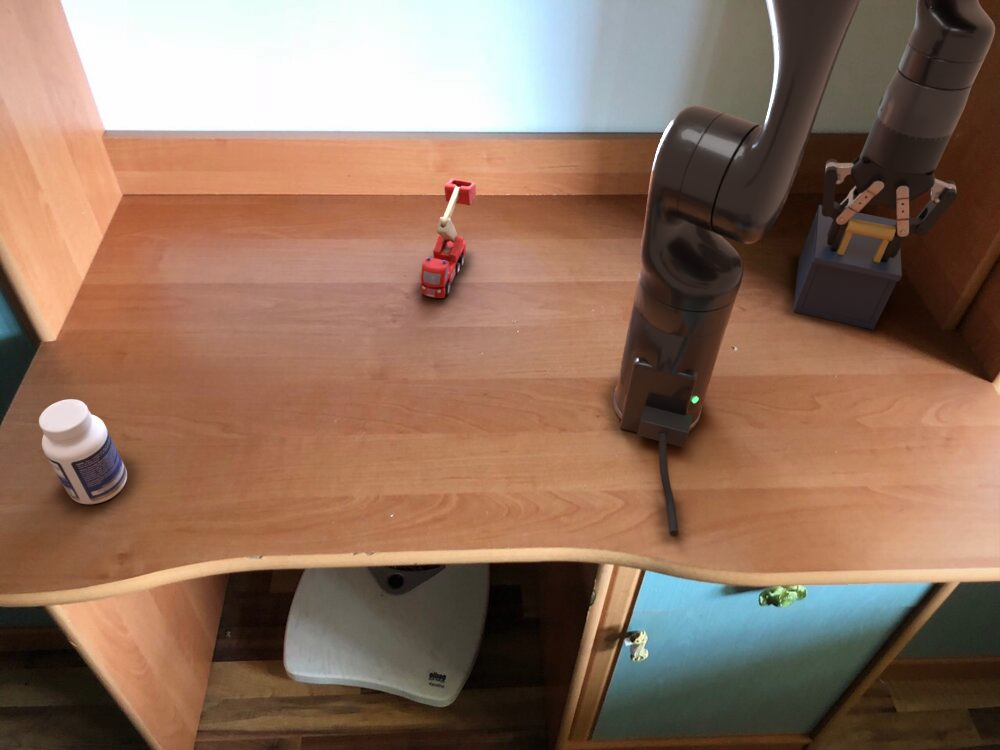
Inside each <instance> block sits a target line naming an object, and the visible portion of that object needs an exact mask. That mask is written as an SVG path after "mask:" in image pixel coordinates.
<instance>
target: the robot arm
mask: <svg viewBox="0 0 1000 750" xmlns="http://www.w3.org/2000/svg"><path fill="white" fill-rule="evenodd" d="M861 2H862V0H765V3H766V8H767V13H768V18H769V25H770V31H771V39H772V53H773V75H772V85H771V93H770V98H769V103H768V108H767V111H766V112H767V113H766V115H765V120H764V122H763V124H761V123H758V122H754V121H751V120H748V119H746V118H743V117H739V116H736V115H733V114H731V113H728V112H724V111H722V110H718V109H715V108H712V107H709V106H705V105H699V104H693V105H689V106H686V107H684V108H683V109H682V110H680V111H679V112H677V114H676V115H674V117H673V118H672V119H671V121H670V122H669V124H668V125H667V127H666V128H665V130H664V132H663V134H662V137H661V138H660V142H659V144H658V146H657V149H656V152H655V156H654V159H653V163H652V167H651V171H650V176H649V177H650V178H649V183H648V184H649V185H648V189H647V190H648V191H647V198H646V199H647V200H646V206H645V207H646V208H645V215H644V222H643V230H642V236H641V242H640V249H639V258H640V267H639V273H638V278H637V283H636V288H635V293H634V298H633V303H632V307H631V312H630V317H629V322H628V327H627V332H626V338H625V343H624V347H623V352H622V357H621V363H620V366H619V371H618V378H617V383H616V387H615V389H614V394H613V399H612V405H613V408H614V411H615V414H616V415H617V417H618V418H619V419H620V425H619V427H620V429H622V430H624V431H627V432H628V431H629V432H632V433H636V435H637V436H639V437H643V438H645V439H650V440H653V441H657V442H658V461H659V462H658V463H659V473H660V480H661V481H660V482H661V485H662V490H663V494H664V498H665V503H666V510H667V518H668V527H669V534H670V535H672V536H676V535H678V534H679V528H678V519H677V510H676V504H675V500H674V494H673V489H672V485H671V481H670V475H669V468H668V466H669V465H668V444H669V445H673V446H676V447H680V448H685V446H686V443H687V440H688V438H689V437H688V436H689V433H690V431H692V430H693V429H694V428H695V427H696V425H697V424H698V423H699V420H700V417H701V414H702V410H703V404H704V401H705V398H706V394H707V392H708V388H709V385H710V382H711V379H712V376H713V372H714V369H715V367H716V363H717V359H718V356H719V353H720V350H721V346H722V343H723V340H724V337H725V334H726V331H727V327H728V324H729V321H730V318H731V315H732V312H733V309H734V305H735V303H736V299H737V296H738V293H739V290H740V287H741V283H742V280H743V278H744V277H743V276H744V264H743V261H742V258H741V256H740V254H739V252H738V251H737V249H736V248H735V247H734V246H733V245H732V244H731V243H730V242H729V241H728V240H727V239H729V240H732V241H733V242H737V243H740V244H745V245H750V244H751V245H752V244H754V243H757V242H759V241H761V240H762V239H763V238H764V237H766V235H767V234H768V233H769V232H770V231H771V229H772V227H773V226H774V224H775V223H776V221H777V219H779V216H780V214H781V212H782V210H783V208H784V206H785V204H786V202H787V199H788V197H789V195H790V192H791V190H792V188H793V185H794V183H795V179H796V177H797V174H798V171H799V169H800V166H801V163H802V160H803V156H804V154H805V151H806V148H807V145H808V142H809V139H810V138H811V134H812V131H813V128H814V126H815V125H814V124H815V122H816V119H817V116H818V113H819V110H820V107H821V105H822V101H823V100H824V99H823V98H824V95H825V92H826V91H827V87H828V84H829V81H830V80H831V76H832V73H833V70H834V68H835V65H836V62H837V59H838V57H839V54H840V52H841V50H842V47H843V44H844V42H845V39H846V38H847V37H846V36H847V34H848V32H849V29H850V27H851V25H852V23H853V20H854V18H855V16H856V13H857V11H858V9H859V6H860V5H861ZM915 4H916V5H915V17H914V25H913V28H912V30H911V33H910V35H909V37H908V40H907V42H906V45H905V48H904V51H903V53H902V55H901V58H900V60H899V63H898V66H897V67H896V70H895V72H894V74H893V76H892V78H891V79H890V80H889V83H888V85H887V87H886V89H885V91H884V94H883V96H882V97H881V99H880V101H879V104H878V109H877V112H876V115H875V117H874V120H873V122H872V125H871V127H870V131H869V133H868V135H867V136H866V137H867V138H866V140H865V143H864V145H863V147H862V150H861V152H860V154H859V155H858V156H857V157H856V158H854V160H853V161H852V162H838V160H837V159H835V158H829V159H828V160H827V161H826V162H825V169H824V170H825V172H824V181H823V191H822V192H823V193H822V204H821V205H822V215H823V216H825V217H831V218H832V219H833V222H832V224H831V227H830V229H829V232H828V236H827V244H828V245H831V247H830V250H834V251H837V249H838V247H839V245H840V242H841V240H842V237H843V235H844V232H845V230H846V227H847V222H848V221H849V220H850V219H851V217H852V216H853V215H854V214H855V213H860V212H861V211H862V210H863V209H864V208H865V206H866V205H870V206H882V207H885V208H886V209H891V210H896V220H897V222H896V224H895V226H894V225H892V226H893V227H896V231H895V235H894V237H893V239H892V241H889V243H888V245H887V247H886V249H885V251H884V254H883V256H882V258H881V261H886V262H887V261H888V260H889V258H894V257H895V256H896V255H897V253H898V251H899V249H900V250H901V247H902V245H903V243H904V241H905V239H906V237H907V236H909V235H913V234H916V235H918V236H920V237H924V236H925V235H927V234H928V233H930V231H931V229H932V228H934V226H935V225H936V224H937V222H938V221H939V220H940V219H941V218H942V217H943V215H944V214H945V213H946V211H948V209H949V208H950V207H951V206H952V205H953V203H954V202H955V201H956V200H957V198H958V194H957V186H956V182H955V181H954V180H946V181H944V180H941V179H937V178H936V177H935V171H936V169H937V167H938V165H939V163H940V161H941V159H942V156H943V154H944V152H945V150H946V149H947V146H948V144H949V142H950V139H951V138H952V136H953V133H954V131H955V130H956V128H957V125H958V123H959V121H960V119H961V116H962V115H963V112H964V110H965V107H966V105H967V102H968V99H969V95H970V93H971V89H972V87H973V84H974V83H975V80H976V78H977V76H978V73H979V71H980V70H981V68H982V65H983V63H984V61H985V59H986V56H987V54H988V52H989V50H990V48H991V46H992V43H993V41H994V37H995V35H996V34H995V33H996V26H995V23H994V21H993V20H992V19H991V17H990V16H989V15H988V13H986V11H985V10H984V9H983V7H982V6H981V4H980V2H979V0H916V3H915ZM849 175H851V178H852V180H853V183H854V185H855V186H853V188H852V189H851V190H850V191H849V193H848V194H847V196H846V197H845V198H844V199H843V200H842V202H840V203H839V202H837V201H835V198H836V187H837V185H840V184H842V183H843V182H844V181H845V179H846V177H847V176H849ZM929 191H930V192H929ZM927 192H929V193H930V194H929V195H930V200H929V201H928V202H927V203H926V205H925V206H924V207H923V208H922V209H921V211H920V212H918V213H919V214H917V216H916V217H910V202H912V201H914V200H915V199H917V198H920V196H922V195H924V194H925V193H927ZM726 238H727V239H726Z"/></svg>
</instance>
